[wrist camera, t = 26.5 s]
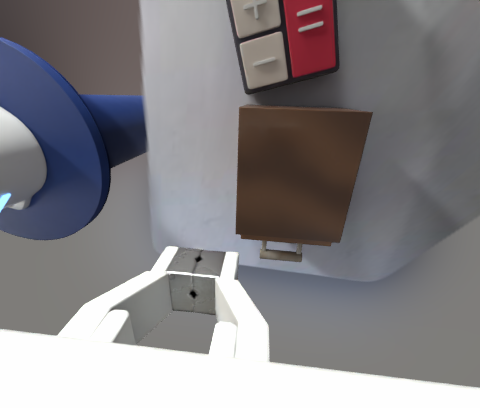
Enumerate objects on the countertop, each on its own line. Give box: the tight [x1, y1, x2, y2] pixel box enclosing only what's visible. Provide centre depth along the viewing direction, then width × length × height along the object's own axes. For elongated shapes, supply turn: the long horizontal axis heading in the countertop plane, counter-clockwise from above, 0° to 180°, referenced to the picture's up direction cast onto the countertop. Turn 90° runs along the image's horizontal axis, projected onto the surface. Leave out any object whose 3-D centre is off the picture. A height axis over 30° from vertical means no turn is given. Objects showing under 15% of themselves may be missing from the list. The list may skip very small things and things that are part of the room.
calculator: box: [226, 0, 339, 94], centre depth 25 cm, size 11×4×15 cm
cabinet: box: [236, 105, 373, 243], centre depth 30 cm, size 15×13×10 cm
